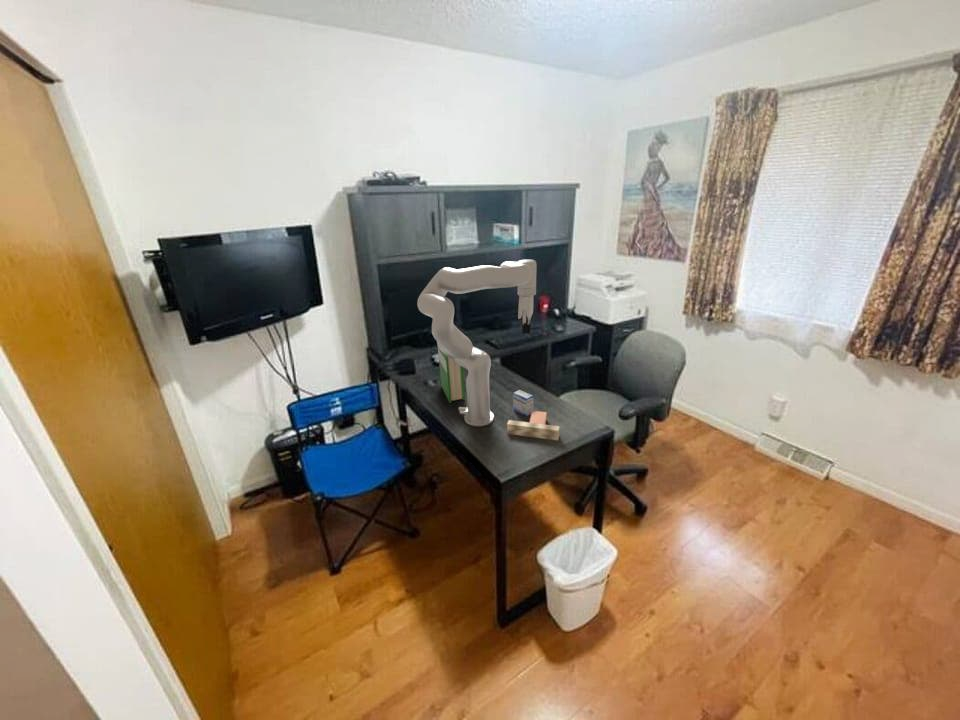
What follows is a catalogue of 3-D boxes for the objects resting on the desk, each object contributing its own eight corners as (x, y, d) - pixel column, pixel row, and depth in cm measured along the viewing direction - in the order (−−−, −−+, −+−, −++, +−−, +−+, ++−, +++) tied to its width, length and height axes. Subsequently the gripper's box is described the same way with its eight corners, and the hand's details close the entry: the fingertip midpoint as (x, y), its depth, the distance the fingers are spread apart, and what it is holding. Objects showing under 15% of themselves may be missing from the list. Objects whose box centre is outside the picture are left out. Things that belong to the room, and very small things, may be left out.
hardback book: (465, 400, 178) (462, 352, 168) (449, 403, 176) (445, 355, 167) (455, 383, 194) (452, 339, 184) (441, 386, 192) (437, 341, 182)
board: (507, 433, 152) (507, 424, 150) (508, 429, 155) (508, 420, 153) (558, 440, 147) (558, 430, 145) (559, 436, 149) (559, 426, 148)
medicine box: (512, 410, 168) (512, 392, 165) (519, 406, 171) (519, 389, 168) (526, 416, 163) (527, 398, 160) (533, 412, 166) (533, 395, 162)
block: (529, 432, 153) (529, 424, 151) (532, 419, 162) (532, 410, 160) (544, 434, 152) (544, 425, 150) (546, 420, 160) (546, 412, 159)
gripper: (521, 286, 165) (521, 326, 172) (514, 294, 152) (514, 338, 159) (538, 286, 163) (537, 327, 170) (532, 295, 150) (532, 339, 157)
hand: (526, 332), depth 165 cm, fingers closed
